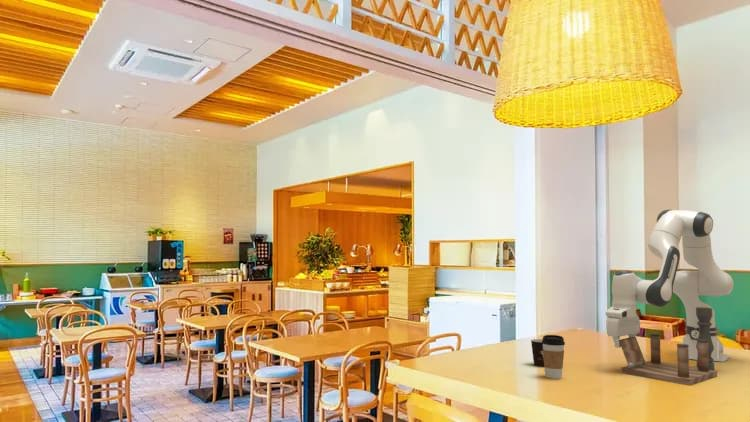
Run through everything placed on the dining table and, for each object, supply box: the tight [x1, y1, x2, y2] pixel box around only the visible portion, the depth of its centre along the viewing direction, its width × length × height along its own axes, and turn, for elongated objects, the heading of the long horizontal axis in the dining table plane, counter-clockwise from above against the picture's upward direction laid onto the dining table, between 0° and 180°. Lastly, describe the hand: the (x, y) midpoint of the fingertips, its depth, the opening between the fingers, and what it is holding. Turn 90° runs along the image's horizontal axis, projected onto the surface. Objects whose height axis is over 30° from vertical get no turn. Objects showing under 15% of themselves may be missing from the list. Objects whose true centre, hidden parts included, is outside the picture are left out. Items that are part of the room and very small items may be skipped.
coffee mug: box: [530, 338, 545, 368], centre depth 231 cm, size 12×9×10 cm
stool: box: [620, 333, 718, 386], centre depth 218 cm, size 25×25×14 cm
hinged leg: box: [619, 336, 647, 368], centre depth 222 cm, size 10×2×11 cm, turn 129°
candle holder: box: [696, 307, 716, 371], centre depth 226 cm, size 6×6×25 cm
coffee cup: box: [542, 334, 566, 380], centre depth 211 cm, size 8×8×15 cm
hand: (623, 346), depth 225 cm, fingers open, 8 cm apart
